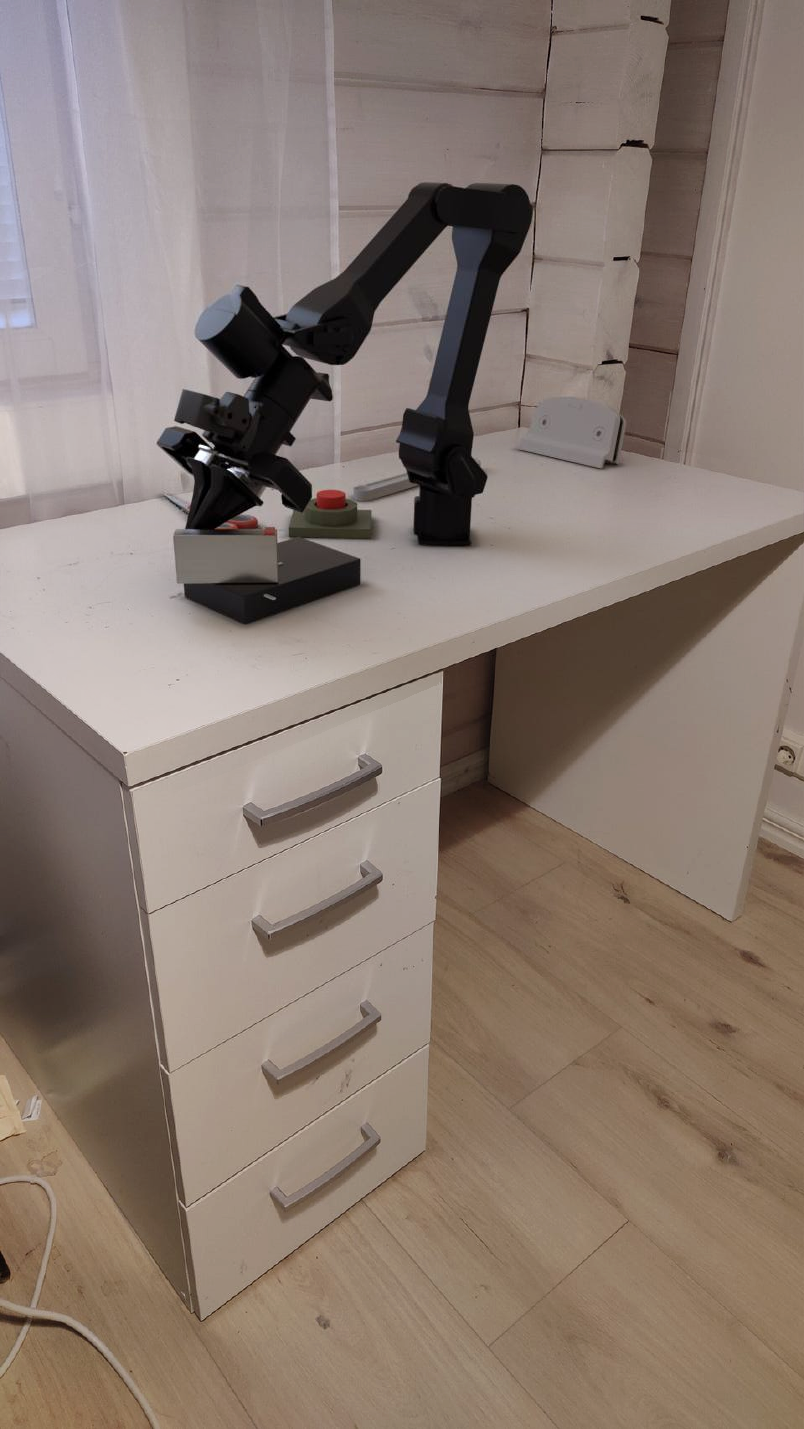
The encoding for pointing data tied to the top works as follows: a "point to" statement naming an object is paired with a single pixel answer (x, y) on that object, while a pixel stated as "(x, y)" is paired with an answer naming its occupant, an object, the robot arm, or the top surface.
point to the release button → (331, 499)
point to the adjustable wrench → (384, 487)
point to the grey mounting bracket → (576, 431)
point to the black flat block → (282, 583)
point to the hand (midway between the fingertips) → (189, 538)
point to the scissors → (234, 523)
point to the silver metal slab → (226, 555)
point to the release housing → (331, 522)
